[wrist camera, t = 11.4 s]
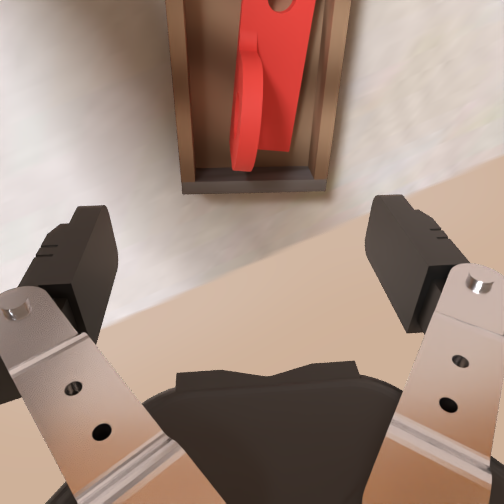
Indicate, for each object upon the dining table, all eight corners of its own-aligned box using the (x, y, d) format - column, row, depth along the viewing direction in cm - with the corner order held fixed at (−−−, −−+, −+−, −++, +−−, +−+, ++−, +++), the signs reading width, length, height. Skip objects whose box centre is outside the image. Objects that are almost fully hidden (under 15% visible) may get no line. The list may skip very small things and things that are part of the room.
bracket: (286, 146, 32) (305, 193, 26) (229, 141, 32) (234, 188, 25) (318, -41, 25) (355, -39, 19) (245, -51, 25) (258, -53, 18)
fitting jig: (161, -95, 24) (156, -100, 21) (348, -89, 25) (364, -94, 22) (184, 177, 34) (182, 194, 31) (317, 174, 35) (325, 191, 32)
